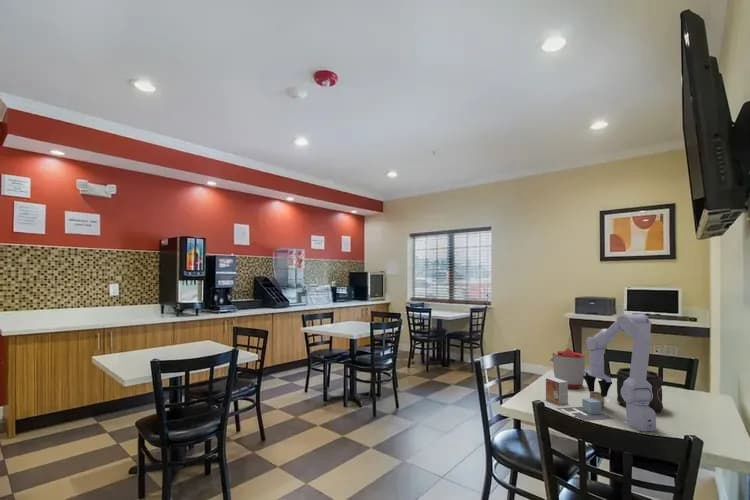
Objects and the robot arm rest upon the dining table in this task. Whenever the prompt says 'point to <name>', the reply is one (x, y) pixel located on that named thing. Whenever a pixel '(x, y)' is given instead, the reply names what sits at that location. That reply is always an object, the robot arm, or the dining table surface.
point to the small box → (557, 390)
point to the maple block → (597, 397)
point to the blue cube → (591, 406)
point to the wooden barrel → (651, 378)
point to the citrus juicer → (569, 367)
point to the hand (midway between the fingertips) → (597, 394)
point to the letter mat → (583, 414)
